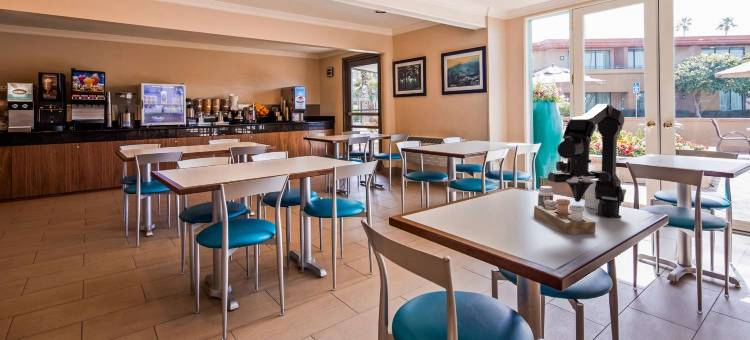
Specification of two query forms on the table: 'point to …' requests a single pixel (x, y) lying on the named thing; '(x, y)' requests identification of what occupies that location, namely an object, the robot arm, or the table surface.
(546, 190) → the pill bottle
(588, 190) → the skincare box
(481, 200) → the table surface
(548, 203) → the grey plug
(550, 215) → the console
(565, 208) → the terracotta plug middle
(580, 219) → the grey plug
